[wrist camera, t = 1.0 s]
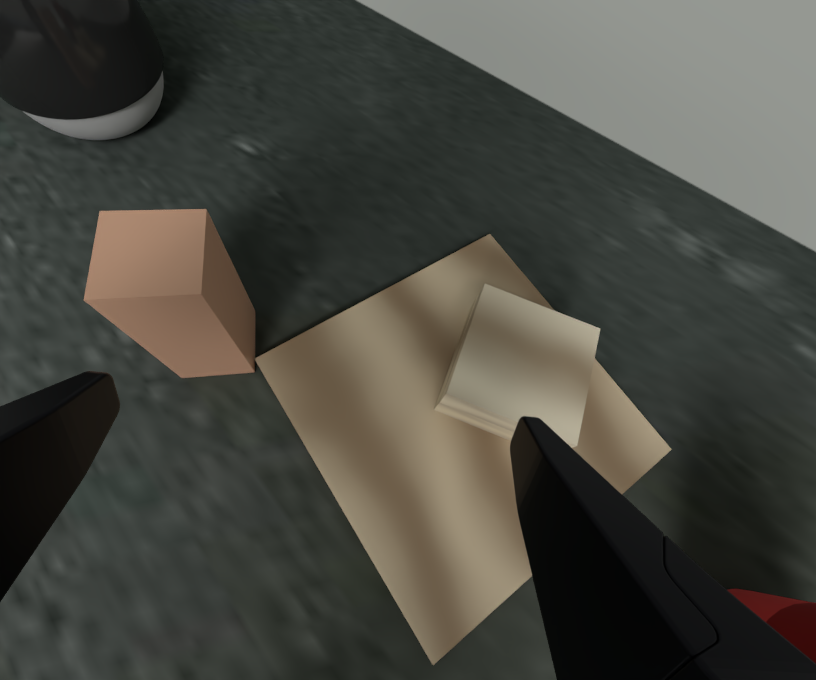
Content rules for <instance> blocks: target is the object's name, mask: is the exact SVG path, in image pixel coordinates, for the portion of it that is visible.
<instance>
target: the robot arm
mask: <svg viewBox="0 0 816 680" xmlns="http://www.w3.org/2000/svg"><path fill="white" fill-rule="evenodd" d="M119 408H120V402H119V398H118V394H117V391H116V388H115V384H114V381H113V378H112V376H111V375H110V374H108V373H104V372H94V371H87V372H84V373H81V374H79V375H77V376H74V377H72V378H69V379H67V380H64V381H62V382H59V383H57V384H54V385H52V386H50V387H47V388H45V389H42V390H40V391H37V392H35V393H32V394H30V395H27V396H25V397H23V398H20V399H18V400H15V401H13V402H10V403H8V404H5V405H3V406H0V602H1V600H2V599H3V597H4V596H5V594H6V593H7V591H8V590H9V588H10V587H11V585H12V584H13V582H14V581H15V579H16V578H17V576H18V575H19V573H20V572H21V570H22V569H23V567H24V566H25V564H26V563H27V562H28V560H29V559H30V557H31V556H32V554H33V553H34V551H35V550H36V548H37V547H38V545H39V544H40V542H41V541H42V539H43V538H44V536H45V535H46V533H47V532H48V530H49V529H50V527H51V526H52V524H53V523H54V521H55V520H56V518H57V517H58V515H59V514H60V513H61V511H62V510H63V508H64V507H65V505H66V504H67V502H68V501H69V499H70V498H71V496H72V495H73V493H74V492H75V490H76V489H77V487H78V486H79V484H80V483H81V481H82V479H83V478H84V476H85V475H86V473H87V471H88V469H89V468H90V466H91V464H92V462H93V460H94V458H95V456H96V454H97V453H98V451H99V449H100V447H101V445H102V443H103V441H104V439H105V437H106V435H107V434H108V432H109V430H110V428H111V426H112V424H113V422H114V420H115V418H116V417H117V415H118V412H119ZM510 456H511V464H512V472H513V481H514V489H515V497H516V505H517V512H518V517H519V521H520V526H521V530H522V534H523V539H524V543H525V547H526V551H527V555H528V560H529V564H530V568H531V572H532V576H533V581H534V585H535V589H536V593H537V598H538V602H539V606H540V610H541V614H542V619H543V623H544V627H545V631H546V635H547V640H548V644H549V648H550V652H551V656H552V661H553V665H554V669H555V673H556V678H557V680H816V663H815V662H813V661H812V660H811V659H810V658H809V657H807V656H806V655H805V654H804V653H802V652H801V651H800V650H799V649H798V648H796V647H795V646H794V645H793V644H792V643H790V642H789V641H788V640H787V639H786V638H784V637H783V636H782V635H781V634H779V633H778V632H777V631H776V630H775V629H773V628H772V627H771V626H770V625H769V624H767V623H766V622H765V621H764V620H763V619H761V618H760V617H759V616H758V615H756V614H755V613H754V612H753V611H752V610H750V609H749V608H748V607H747V606H746V605H744V604H743V603H742V602H741V601H739V600H738V599H737V598H736V597H735V596H734V595H732V594H731V593H730V592H729V591H728V590H727V589H725V588H724V587H723V586H722V585H721V584H719V583H718V582H717V581H716V580H715V579H714V578H712V577H711V576H710V575H709V574H708V573H707V572H706V571H704V570H703V569H702V568H701V567H700V566H699V565H698V564H697V563H696V562H694V561H693V560H692V559H691V558H690V557H689V556H688V555H687V554H686V553H684V552H683V551H682V550H681V549H680V548H679V547H678V546H677V545H676V544H675V543H674V542H673V541H671V540H670V539H669V538H668V537H667V536H663V532H662V531H661V530H659V529H658V528H657V527H656V526H655V525H654V524H653V523H652V522H651V521H650V520H649V519H648V518H647V517H646V516H644V515H643V514H642V513H641V512H640V511H639V510H638V509H637V508H636V507H635V506H634V505H633V504H632V503H630V502H629V501H628V500H627V499H626V498H625V497H624V496H623V495H622V494H621V493H620V492H619V491H618V490H616V489H615V488H614V487H613V486H612V485H611V484H610V483H609V482H608V481H607V480H606V479H605V478H604V477H603V476H601V475H600V474H599V473H598V472H597V471H596V470H595V469H594V468H593V467H592V466H591V465H590V464H589V463H587V462H586V461H585V460H584V459H583V458H582V457H581V456H580V455H579V454H578V453H577V452H576V451H575V450H573V449H572V448H571V447H570V446H569V445H568V444H567V443H566V442H565V441H564V440H563V439H562V438H561V437H560V436H558V435H557V434H556V433H555V432H554V431H553V430H552V429H551V428H550V427H549V426H548V425H547V424H546V423H544V422H543V421H542V420H541V419H540V418H537V417H529V416H523V417H521V418H520V419H519V421H518V423H517V426H516V429H515V431H514V434H513V437H512V439H511V443H510Z"/></svg>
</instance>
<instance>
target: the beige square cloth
mask: <svg viewBox="0 0 816 680" xmlns="http://www.w3.org/2000/svg"><path fill="white" fill-rule="evenodd" d="M484 284H487V285H490V286H493V287H495V288H498V289H500V290H503V291H505V292H508V293H510V294H513V295H516V296H518V297H521V298H523V299H526V300H528V301H531V302H533V303H536V304H539V305H541V306H544V307H546V308H549V309H551V310H554V309H553V308H552V307H551V306H550V304H549V303H548V302H547V301H546V300H545V299H544V297H543V296H542V295H541V294H540V293H539V291H538V290H537V289H536V288H535V287H534V285H533V284H532V283H531V282H530V281H529V280H528V278H527V277H526V276H525V275H524V274H523V272H522V271H521V270H520V269H519V268H518V266H517V265H516V264H515V263H514V262H513V261H512V259H511V258H510V257H509V256H508V255H507V253H506V252H505V251H504V250H503V249H502V247H501V246H500V245H499V244H498V243H497V242H496V240H495V239H494V238H493V237H492V236H491V234H488V235H487V236H485V237H483V238H481V239H479V240H477V241H475V242H473V243H471V244H470V245H468V246H466V247H464V248H462V249H460V250H458V251H456V252H455V253H453V254H451V255H449V256H447V257H445V258H443V259H441V260H439V261H438V262H436V263H434V264H432V265H430V266H428V267H426V268H424V269H423V270H421V271H419V272H417V273H415V274H413V275H411V276H409V277H407V278H406V279H404V280H402V281H400V282H398V283H396V284H394V285H392V286H390V287H389V288H387V289H385V290H383V291H381V292H379V293H377V294H375V295H374V296H372V297H370V298H368V299H366V300H364V301H362V302H360V303H358V304H357V305H355V306H353V307H351V308H349V309H347V310H345V311H343V312H342V313H340V314H338V315H336V316H334V317H332V318H330V319H328V320H326V321H325V322H323V323H321V324H319V325H317V326H315V327H313V328H311V329H309V330H308V331H306V332H304V333H302V334H300V335H298V336H296V337H294V338H293V339H291V340H289V341H287V342H285V343H283V344H281V345H279V346H277V347H276V348H274V349H272V350H270V351H268V352H266V353H264V354H262V355H261V356H259V357H257V358H255V361H256V362H257V364H258V366H259V368H260V369H261V371H262V373H263V374H264V376H265V378H266V380H267V381H268V383H269V385H270V386H271V388H272V390H273V392H274V393H275V395H276V397H277V398H278V400H279V402H280V404H281V405H282V407H283V409H284V411H285V412H286V414H287V416H288V417H289V419H290V421H291V423H292V424H293V426H294V428H295V429H296V431H297V433H298V435H299V436H300V438H301V440H302V441H303V443H304V445H305V447H306V448H307V450H308V452H309V453H310V455H311V457H312V459H313V460H314V462H315V464H316V465H317V467H318V469H319V471H320V472H321V474H322V476H323V477H324V479H325V481H326V483H327V484H328V486H329V488H330V489H331V491H332V493H333V495H334V496H335V498H336V500H337V502H338V503H339V505H340V507H341V508H342V510H343V512H344V514H345V515H346V517H347V519H348V520H349V522H350V524H351V526H352V527H353V529H354V531H355V532H356V534H357V536H358V538H359V539H360V541H361V543H362V544H363V546H364V548H365V550H366V551H367V553H368V555H369V556H370V558H371V560H372V562H373V563H374V565H375V567H376V568H377V570H378V572H379V574H380V575H381V577H382V579H383V581H384V582H385V584H386V586H387V587H388V589H389V591H390V593H391V594H392V596H393V598H394V599H395V601H396V603H397V605H398V606H399V608H400V610H401V611H402V613H403V615H404V617H405V618H406V620H407V622H408V623H409V625H410V627H411V629H412V630H413V632H414V634H415V635H416V637H417V639H418V641H419V642H420V644H421V646H422V647H423V649H424V651H425V653H426V654H427V656H428V658H429V660H430V661H431V663H432V665H434V664H435V663H436V662H437V661H439V660H440V659H441V658H442V657H443V656H444V655H445V654H446V653H447V652H448V651H450V650H451V649H452V648H453V647H454V646H455V645H456V644H457V643H458V642H460V641H461V640H462V639H463V638H464V637H465V636H466V635H467V634H468V633H469V632H471V631H472V630H473V629H474V628H475V627H476V626H477V625H478V624H479V623H480V622H482V621H483V620H484V619H485V618H486V617H487V616H488V615H489V614H490V613H492V612H493V611H494V610H495V609H496V608H497V607H498V606H499V605H500V604H501V603H503V602H504V601H505V600H506V599H507V598H508V597H509V596H510V595H511V594H513V593H514V592H515V591H516V590H517V589H518V588H519V587H520V586H521V585H522V584H524V583H525V582H526V581H527V580H528V579H529V578H530V577H531V576H532V572H531V568H530V564H529V560H528V555H527V551H526V547H525V543H524V539H523V534H522V530H521V526H520V521H519V517H518V512H517V505H516V497H515V489H514V481H513V472H512V464H511V456H510V443H511V441H510V440H507V439H505V438H502V437H500V436H497V435H495V434H492V433H490V432H487V431H485V430H482V429H480V428H477V427H475V426H472V425H470V424H467V423H465V422H462V421H460V420H457V419H455V418H452V417H450V416H448V415H445V414H443V413H440V412H438V411H435V410H434V407H435V405H436V402H437V399H438V396H439V393H440V391H441V388H442V385H443V382H444V379H445V377H446V374H447V371H448V368H449V365H450V362H451V360H452V357H453V354H454V351H455V348H456V346H457V343H458V340H459V337H460V334H461V332H462V329H463V326H464V323H465V320H466V318H467V315H468V312H469V310H470V308H471V307H472V305H473V303H474V301H475V300H476V298H477V296H478V294H479V293H480V291H481V289H482V287H483V286H484ZM554 311H555V310H554ZM572 449H573V450H575V451H576V452H577V453H578V454H579V455H580V456H581V457H582V458H583V459H584V460H585V461H586V462H587V463H589V464H590V465H591V466H592V467H593V468H594V469H595V470H596V471H597V472H598V473H599V474H600V475H601V476H603V477H604V478H605V479H606V480H607V481H608V482H609V483H610V484H611V485H612V486H613V487H614V488H615V489H616V490H618V491H619V492H620V493H621V494H623V493H624V492H625V491H626V490H627V489H629V488H630V487H631V486H632V485H633V484H634V483H635V482H636V481H637V480H638V479H640V478H641V477H642V476H643V475H644V474H645V473H646V472H647V471H648V470H650V469H651V468H652V467H653V466H654V465H655V464H656V463H657V462H658V461H659V460H661V459H662V458H663V457H664V456H665V455H666V454H667V453H668V452H669V451H670V450H672V449H671V448H670V447H669V446H668V445H667V443H666V442H665V441H664V440H663V439H662V437H661V436H660V435H659V434H658V433H657V431H656V430H655V429H654V428H653V427H652V426H651V424H650V423H649V422H648V421H647V420H646V418H645V417H644V416H643V415H642V414H641V413H640V411H639V410H638V409H637V408H636V407H635V405H634V404H633V403H632V402H631V401H630V399H629V398H628V397H627V396H626V395H625V394H624V392H623V391H622V390H621V389H620V388H619V386H618V385H617V384H616V383H615V382H614V380H613V379H612V378H611V377H610V376H609V375H608V373H607V372H606V371H605V370H604V369H603V367H602V366H601V365H600V364H599V363H598V361H597V360H596V359H595V358H594V363H593V368H592V374H591V379H590V384H589V389H588V394H587V399H586V404H585V409H584V414H583V419H582V424H581V429H580V434H579V439H578V444H577V446H576V447H572Z"/></svg>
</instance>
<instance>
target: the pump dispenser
mask: <svg viewBox="0 0 816 680" xmlns="http://www.w3.org/2000/svg"><path fill="white" fill-rule="evenodd" d="M163 64H164V59H163V53H162V50H161V47H160V44H159V42H158V39H157V37H156V35H155V33H154V30H153V28H152V26H151V24H150V22H149V21H148V19H147V17H146V15H145V13H144V11H143V10H142V8H141V6H140V4H139V2H138V1H137V0H0V97H1V98H2V99H3V100H4V101H6V102H7V103H8V104H10V105H12V106H13V107H15V108H17V109H19V110H21V111H23V112H24V113H26V114H27V115H28V116H30V117H31V118H33V119H34V120H36V121H37V122H39V123H40V124H42V125H44V126H46V127H48V128H50V129H52V130H54V131H56V132H59V133H61V134H64V135H67V136H71V137H75V138H80V139H86V140H109V139H115V138H120V137H123V136H126V135H129V134H131V133H133V132H135V131H137V130H139V129H140V128H142V127H143V126H144V125H146V124H147V123H148V122H149V121H150V120H151V119H152V117H153V116H154V115H155V113H156V112H157V110H158V108H159V105H160V103H161V100H162V96H163V87H164V81H163V71H162V70H163Z"/></svg>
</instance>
